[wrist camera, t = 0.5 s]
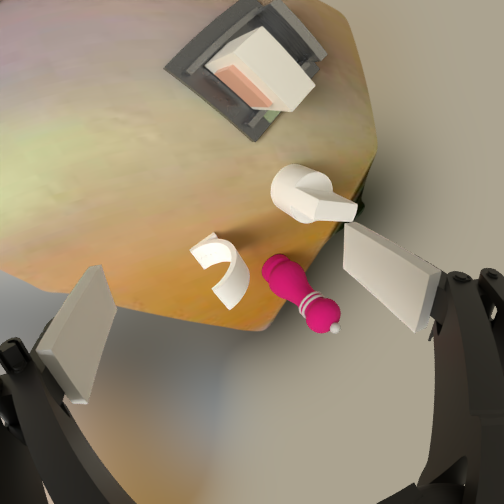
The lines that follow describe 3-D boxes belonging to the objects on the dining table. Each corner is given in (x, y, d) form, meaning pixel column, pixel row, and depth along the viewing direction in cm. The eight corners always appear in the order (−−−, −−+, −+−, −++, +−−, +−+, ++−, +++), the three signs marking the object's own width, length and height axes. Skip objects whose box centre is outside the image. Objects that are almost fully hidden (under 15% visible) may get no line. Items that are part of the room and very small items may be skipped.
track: (163, 68, 29) (170, 61, 24) (245, -5, 26) (263, -16, 22) (251, 141, 40) (270, 146, 36) (315, 69, 38) (338, 68, 33)
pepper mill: (289, 246, 54) (358, 305, 39) (290, 274, 58) (352, 333, 43) (257, 259, 52) (322, 328, 37) (261, 287, 56) (319, 354, 41)
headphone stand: (189, 249, 44) (213, 291, 35) (218, 228, 45) (250, 264, 36) (203, 267, 47) (229, 310, 38) (230, 247, 48) (263, 285, 39)
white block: (200, 69, 30) (227, 57, 22) (227, 42, 29) (262, 26, 21) (249, 113, 36) (288, 116, 28) (273, 86, 35) (315, 85, 27)
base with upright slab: (316, 167, 48) (363, 186, 39) (305, 211, 52) (347, 238, 43) (276, 160, 44) (323, 178, 34) (265, 209, 47) (306, 239, 38)
